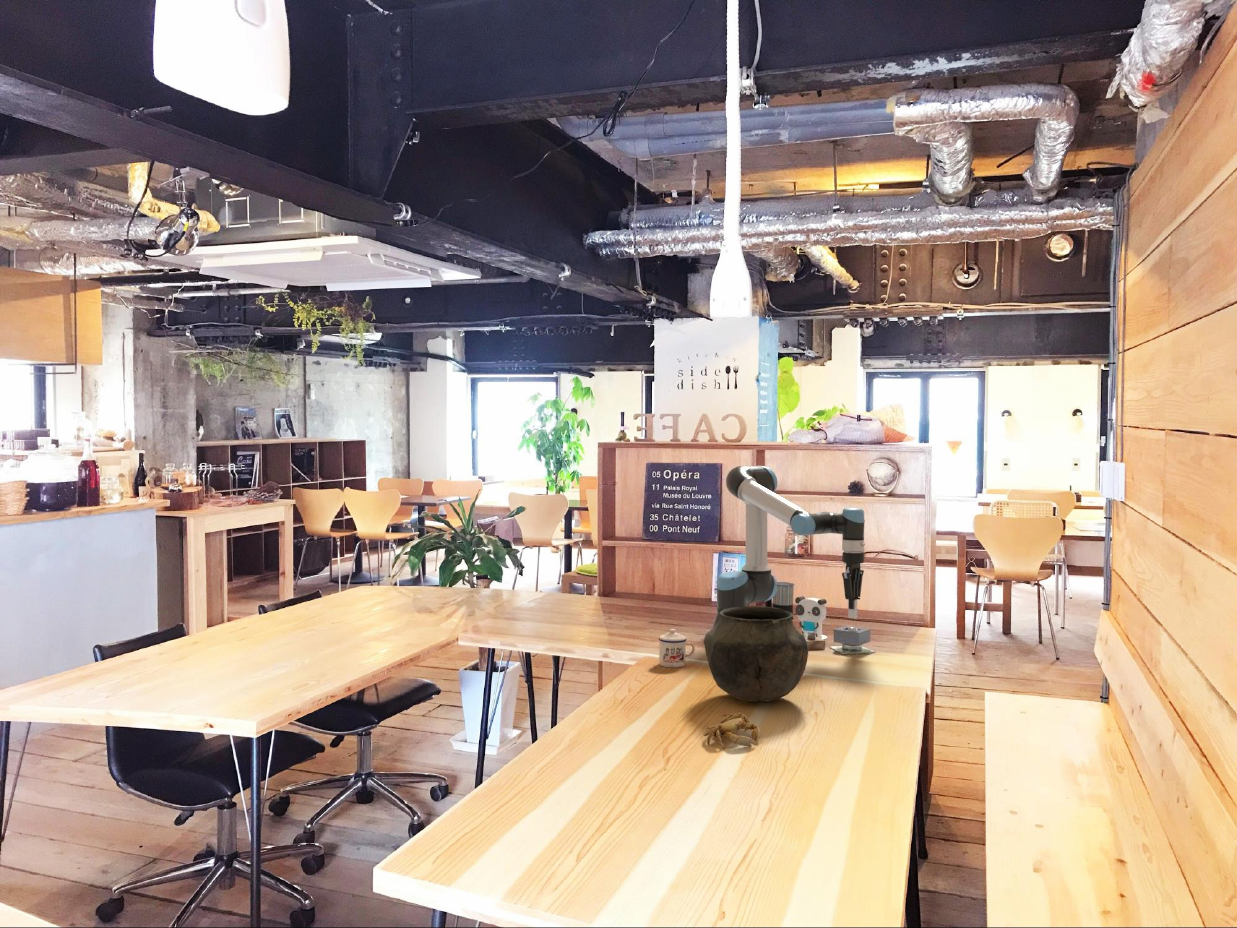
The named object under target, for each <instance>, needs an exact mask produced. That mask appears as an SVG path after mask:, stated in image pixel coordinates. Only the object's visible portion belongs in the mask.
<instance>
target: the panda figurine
mask: <svg viewBox="0 0 1237 928" xmlns="http://www.w3.org/2000/svg"><path fill="white" fill-rule="evenodd" d="M794 602H795V604H797V605H796V607H795V614H796V616H797V618H798V620H799V626H800V628H801V634H802V635H804V637H808V631H814V632H816V637H818V638H820V639H823V640H825V641H826V640H827V639H828V636H826V635H824V634H823V621H824V620H825V619H826V616H827V608H826V605H827V602H828V601H827V599H826V598H822V599H820V598H816V597H809V598H805V596H803V595H802V596H797V597H796V598H795V599H794Z"/></svg>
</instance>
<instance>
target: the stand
mask: <svg viewBox="0 0 1237 928" xmlns="http://www.w3.org/2000/svg"><path fill="white" fill-rule="evenodd" d="M805 639H806V642H807V646H808V651H809V650H825V649H826V639H825V640H823V639H820V638H818V637H816V632H814V631H808V637H805Z"/></svg>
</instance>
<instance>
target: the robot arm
mask: <svg viewBox="0 0 1237 928" xmlns="http://www.w3.org/2000/svg"><path fill="white" fill-rule="evenodd" d="M725 486H726V488H727V490H728V492H729V493H730V494H731V495H732V496H734V498H735V497H736V499H739V500H741V501H742V502H743V503H744V504H745V564H744V566H742V567H741V570H733V571H725V572H723V573H720V574H719V576H717V581H716V615H715V618H714V621H713V623H712V626H711V629H712V628H713V627H714V626H715V625H716V624H717V623H718V621H719V615H720V612H721V611H722V610H724V609H728V608H734V607H745V606H748V605H751V604H758V603H759V604H763V603H765V601H768V600H770V599H772V600H773V597H774V595H775V593H776V591H777V582H778V581H777V578H775V575H774V574H773V573H772V568H771V567H770V566H769V564H768V515H771V516H772V517H775V518H776V519H778V520H779V521H782V522H783V523H785V524H786V525H788V526H790V528H791V530H792V532H793V533H794V534H795V535H797V536H805V537H806V536H807V537H808V536H811V535H813V536H815V535H825V534H838V535H842V537H841V538H842V542H841V543H842V545H841V547H842V548H841V550H842V551H843V552H842V555H841V556H842V557H841V559H842V562H843V563H844V564H845V572H842V573H841V577H842V579H843V581H842V583H843V589H844V597H845V600H847V606H848V609H847V610H848V611H847V612H848V613H847V615H848V618H849V619H855V620H856V619H858V600H861V592H862V585H863V576H864V572H865V571H864V569H861V564H864V563H865V553H864V551H865V546H866V543H865V522H866V520H865V512H864V510H863V509H862V508H859V507H858V508H857V507H856V508H855V507H847V508H843V509H842V512H840V513H839V512H829V511H819V512H816V513H815V512H814V513H812V512H809V511H807V510H805V509H803V508H802V507H800V506H798V505H797V504H795V503H792V502H791V501H789V500H787V499H786V498H784V497H782V496H780V495H778V494H777V493H775V492H776V490H777V489H778V477H777V475H776V473H775V471H773V469H771V468H770V467H768V466H764V465H763V466H762V465H739V466H735V467H733V468H732V469H731V470H729V472H728V473H727V476H726V477H725Z"/></svg>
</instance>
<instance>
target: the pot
mask: <svg viewBox="0 0 1237 928" xmlns="http://www.w3.org/2000/svg"><path fill="white" fill-rule="evenodd" d="M793 617H794V613H793V614H792V613H790V612H788V611H785V610H782V609H778V608H773V606H772V607H765V606H761V605H751V606H748V605H747V606H745V607H734V608H728V609H724V610H722V611H721V612H720V615H719V621H718V623H717V624H716V625H715V626H714V627H713V628H712V627H711V629H710V630H709V631H707V632H706V634H705V636H704V638H703V639H704V641H703V643H704V651H705V655H706V660H707V665H708V667H709V671H710V673H711V676H712V678H713V680H714V682H715V684H716V685H717V687H718V688H720V689H721V690H722V691H724V693H727V694H729V695H730V696H731V697H733V698H736V699H737V700H741V701H744V702H745V701H746V702H754V703H759V702H760V703H763V702H770V701H771V702H772V701H775V700H777V699H781V698H783V697H787V696H788V695H789V694H790V693H791V692H792V691H793V690H794V689H795V688H797V686H798V685H799V682H800V681H801V679H802V677H803V676H804V672H805V671H806V667H807V663H808V658H809V650H808V646H807V642H806V639H805V637H804V635H802V632H801V631H799V630H798V629H797V627H796V626H795V625H794V622H793V619H794V618H793ZM792 618H793V619H792Z"/></svg>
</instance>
